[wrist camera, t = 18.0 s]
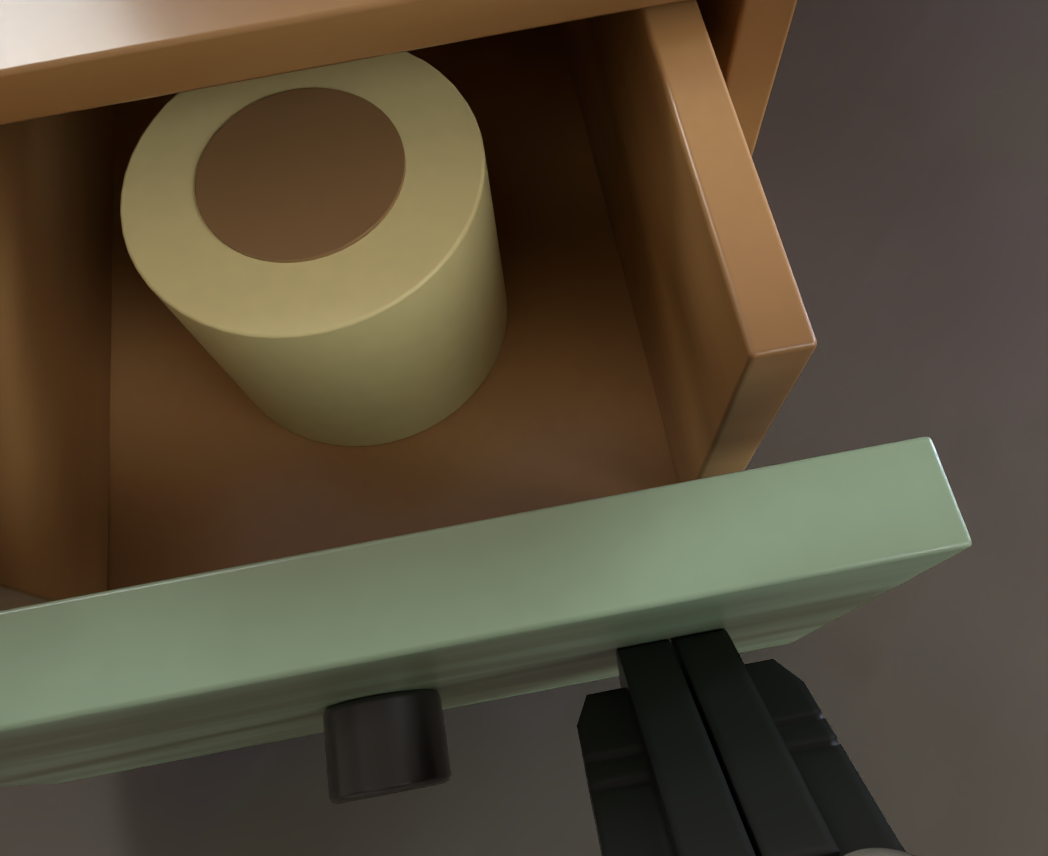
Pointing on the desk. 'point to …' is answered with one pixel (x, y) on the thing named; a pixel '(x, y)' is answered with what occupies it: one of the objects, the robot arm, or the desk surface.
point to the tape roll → (326, 243)
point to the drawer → (426, 447)
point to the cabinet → (310, 43)
